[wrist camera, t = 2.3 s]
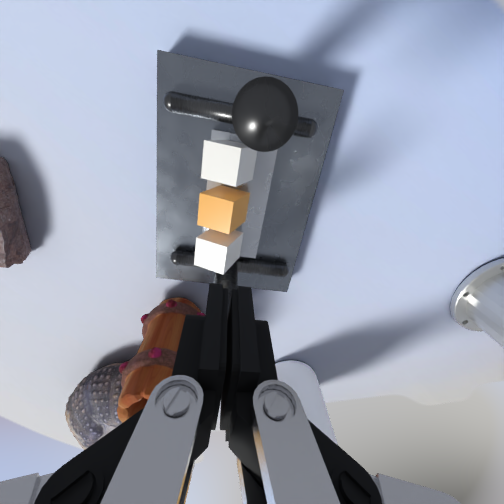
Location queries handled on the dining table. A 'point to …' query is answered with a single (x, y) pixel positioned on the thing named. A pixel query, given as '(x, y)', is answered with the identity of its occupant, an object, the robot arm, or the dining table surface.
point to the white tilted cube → (228, 162)
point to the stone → (11, 222)
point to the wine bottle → (307, 393)
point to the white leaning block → (217, 250)
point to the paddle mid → (222, 208)
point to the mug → (153, 354)
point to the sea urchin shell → (95, 405)
